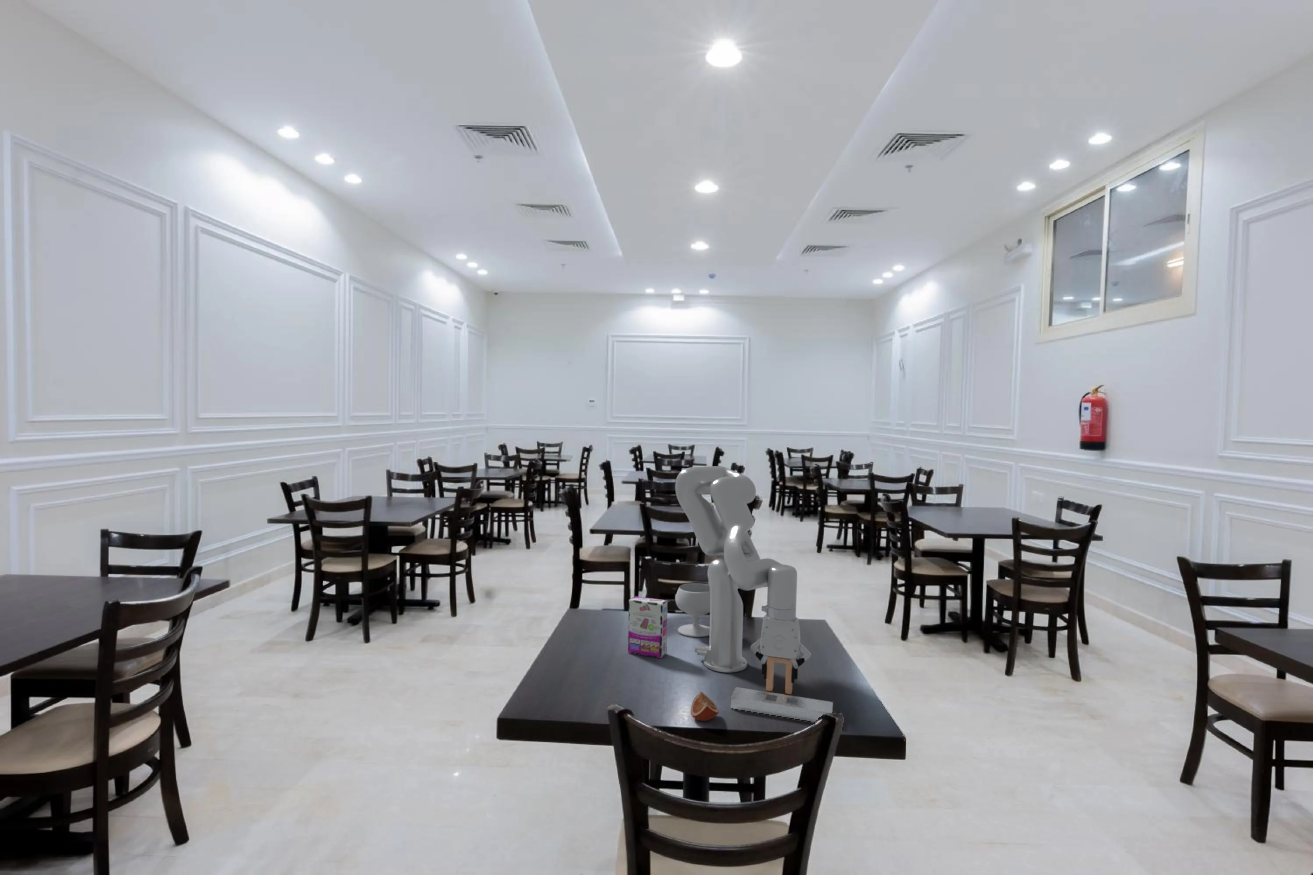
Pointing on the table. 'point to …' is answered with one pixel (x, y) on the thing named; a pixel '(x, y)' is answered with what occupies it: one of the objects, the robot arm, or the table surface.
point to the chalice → (694, 607)
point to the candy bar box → (647, 626)
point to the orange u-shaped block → (771, 673)
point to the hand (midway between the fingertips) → (779, 678)
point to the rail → (779, 704)
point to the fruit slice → (703, 708)
